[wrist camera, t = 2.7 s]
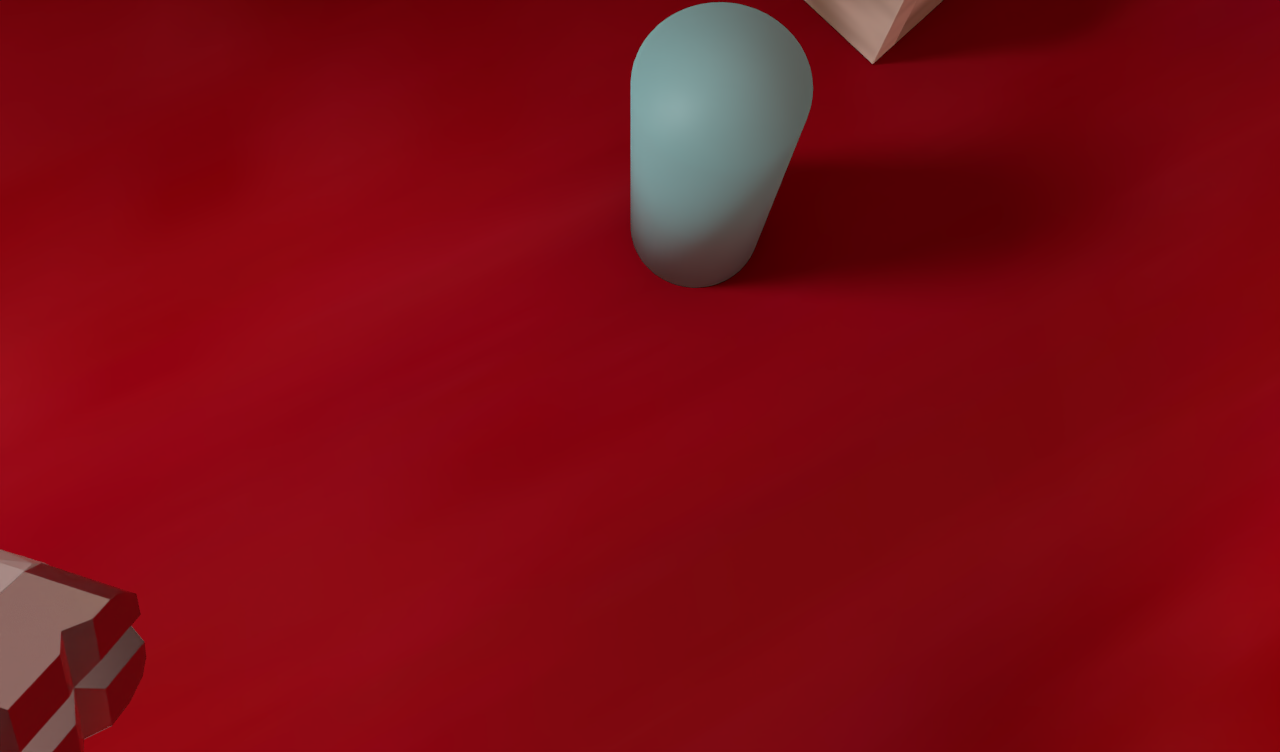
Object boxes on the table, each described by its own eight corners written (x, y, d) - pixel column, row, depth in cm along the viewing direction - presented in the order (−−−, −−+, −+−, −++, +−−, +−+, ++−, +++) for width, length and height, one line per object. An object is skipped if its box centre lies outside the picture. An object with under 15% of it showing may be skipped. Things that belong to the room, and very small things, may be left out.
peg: (604, 223, 30) (592, 81, 21) (696, 141, 30) (723, -32, 21) (693, 313, 29) (720, 207, 20) (785, 228, 30) (850, 89, 21)
